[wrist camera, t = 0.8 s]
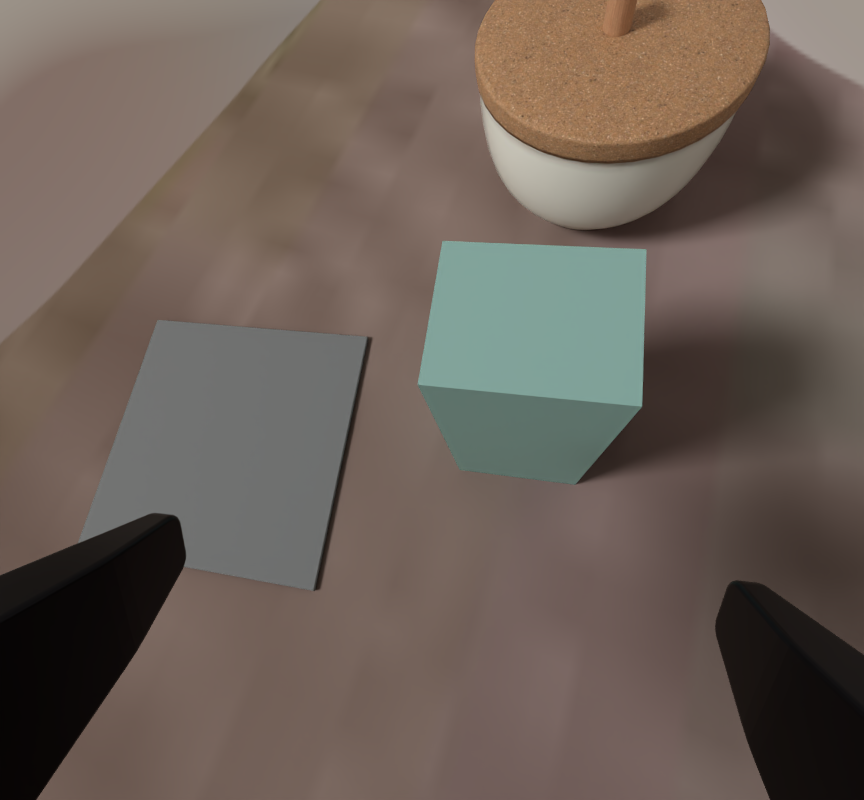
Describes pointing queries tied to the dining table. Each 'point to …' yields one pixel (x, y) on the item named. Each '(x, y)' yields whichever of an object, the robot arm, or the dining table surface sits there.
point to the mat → (236, 446)
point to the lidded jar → (611, 98)
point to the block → (534, 355)
